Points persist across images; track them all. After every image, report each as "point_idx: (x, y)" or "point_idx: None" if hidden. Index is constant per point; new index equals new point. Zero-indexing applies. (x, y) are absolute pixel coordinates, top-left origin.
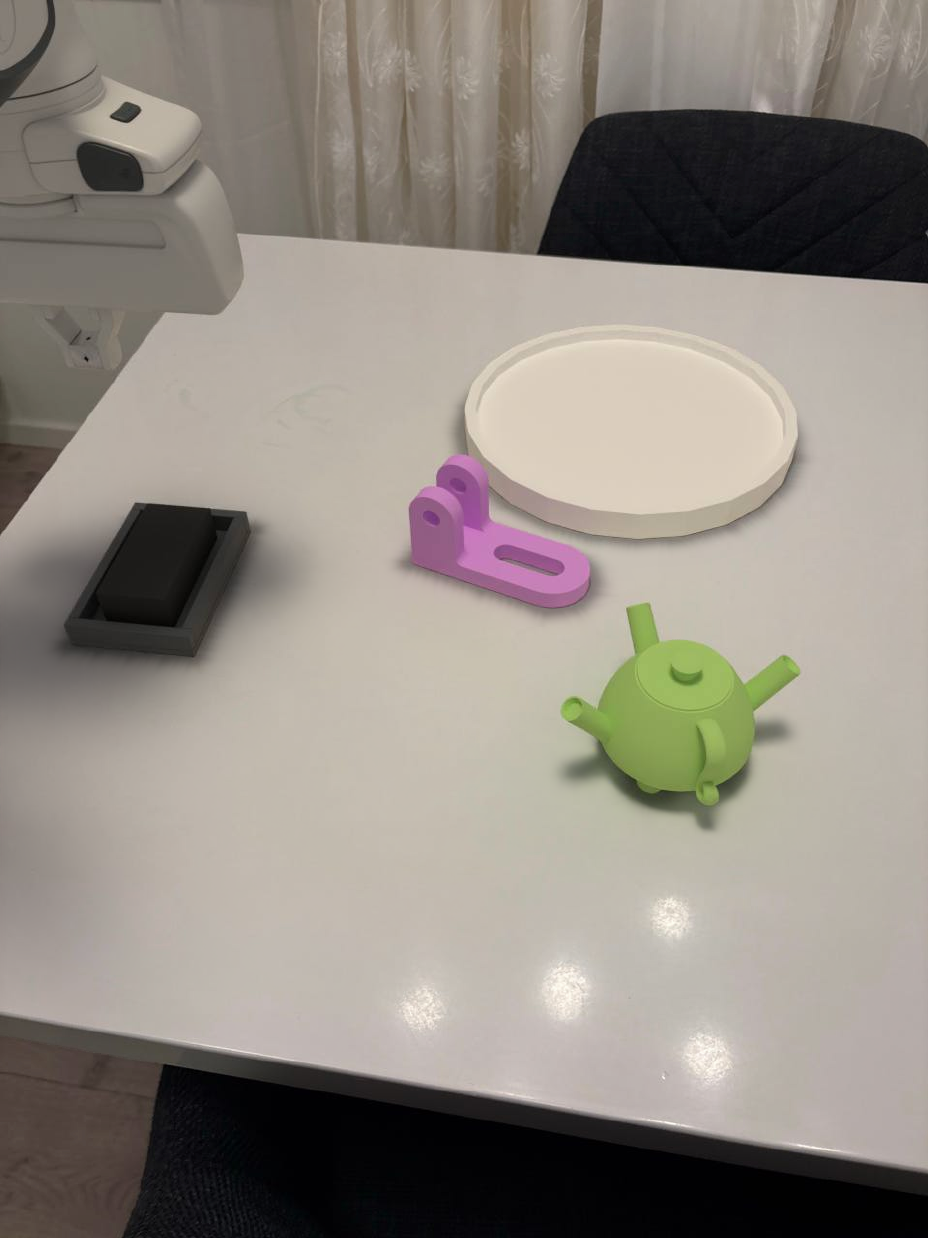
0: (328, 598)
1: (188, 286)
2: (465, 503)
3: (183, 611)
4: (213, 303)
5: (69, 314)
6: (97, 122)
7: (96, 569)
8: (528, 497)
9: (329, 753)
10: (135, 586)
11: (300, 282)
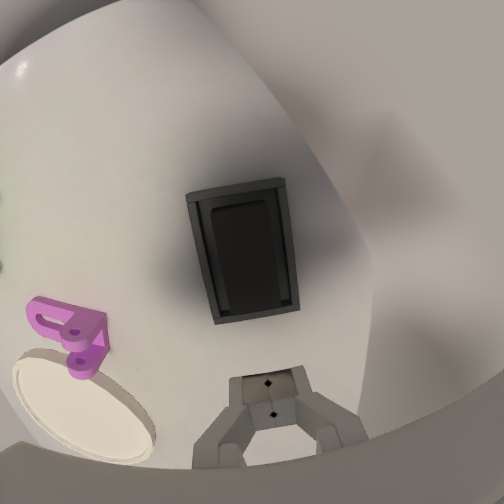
0: (133, 271)
1: (22, 479)
2: (81, 352)
3: None
4: (7, 450)
5: (316, 440)
6: None
7: (292, 238)
8: None
9: (78, 155)
10: (240, 219)
11: None
